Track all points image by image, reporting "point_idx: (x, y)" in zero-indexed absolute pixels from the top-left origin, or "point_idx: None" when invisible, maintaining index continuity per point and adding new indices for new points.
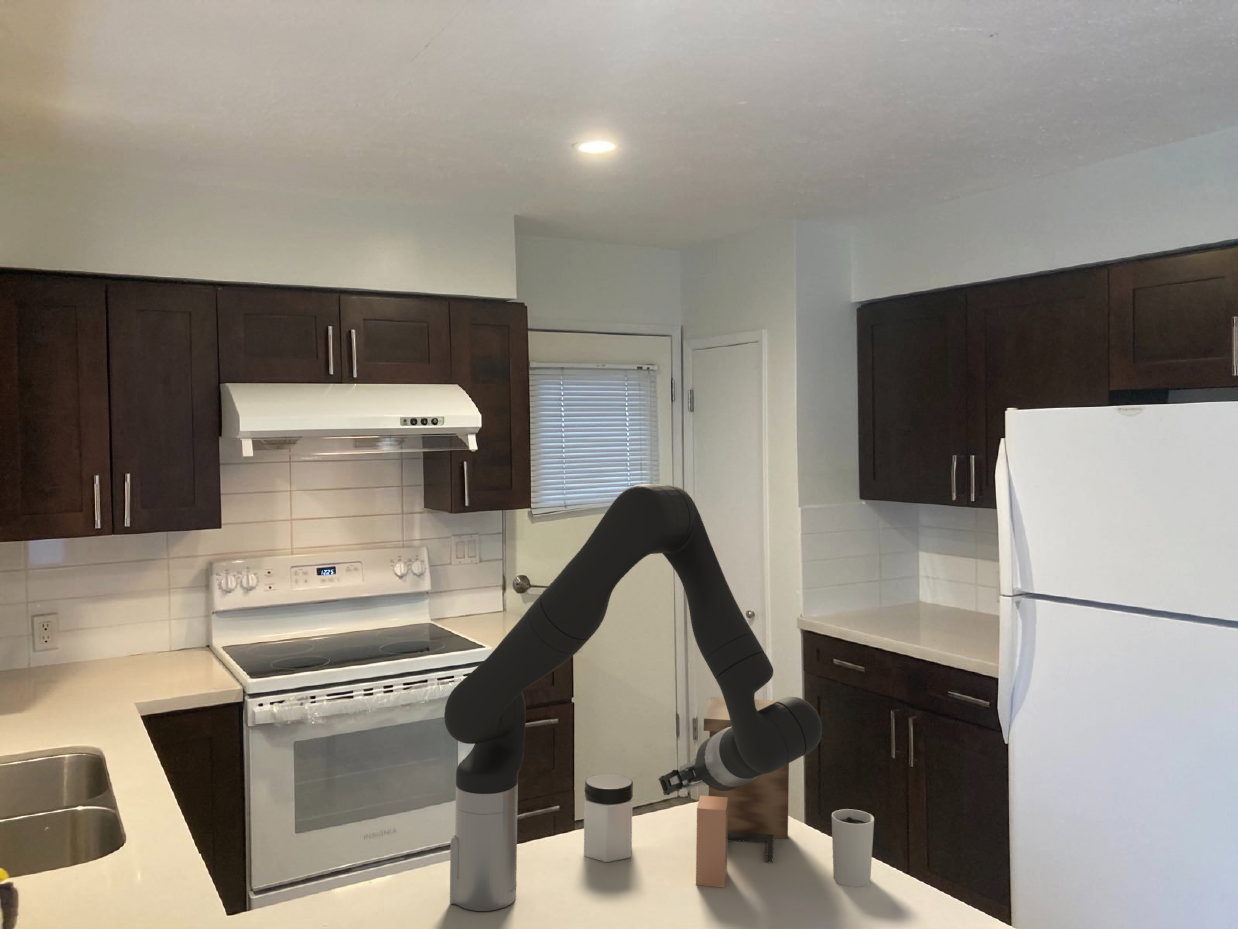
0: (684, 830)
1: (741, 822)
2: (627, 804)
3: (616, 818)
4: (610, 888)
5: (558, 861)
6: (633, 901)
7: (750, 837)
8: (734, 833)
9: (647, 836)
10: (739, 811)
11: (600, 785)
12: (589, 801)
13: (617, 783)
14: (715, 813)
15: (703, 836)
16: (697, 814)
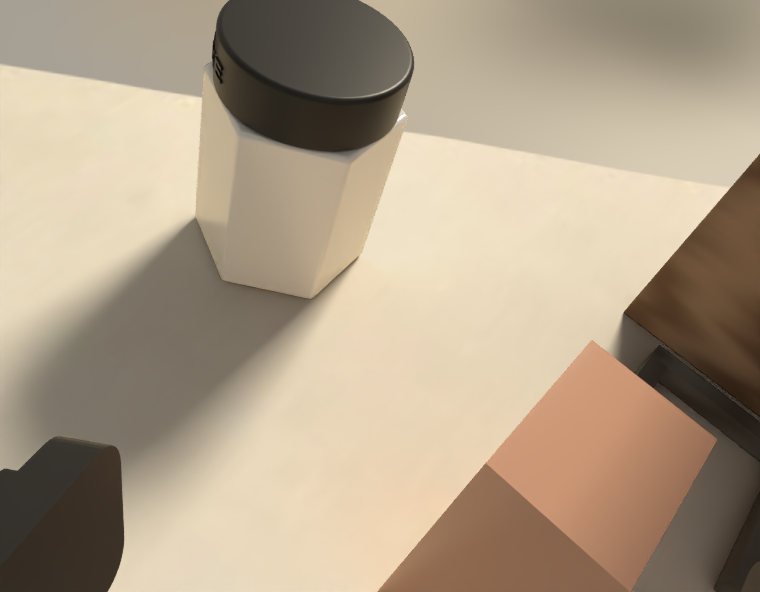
0: (567, 262)
1: (738, 356)
2: (331, 162)
3: (275, 186)
4: (83, 427)
5: (106, 195)
6: None
7: (730, 423)
8: (690, 380)
9: (449, 231)
10: (755, 331)
11: (256, 39)
12: (212, 76)
13: (333, 63)
14: (565, 552)
15: (461, 549)
16: (476, 480)
